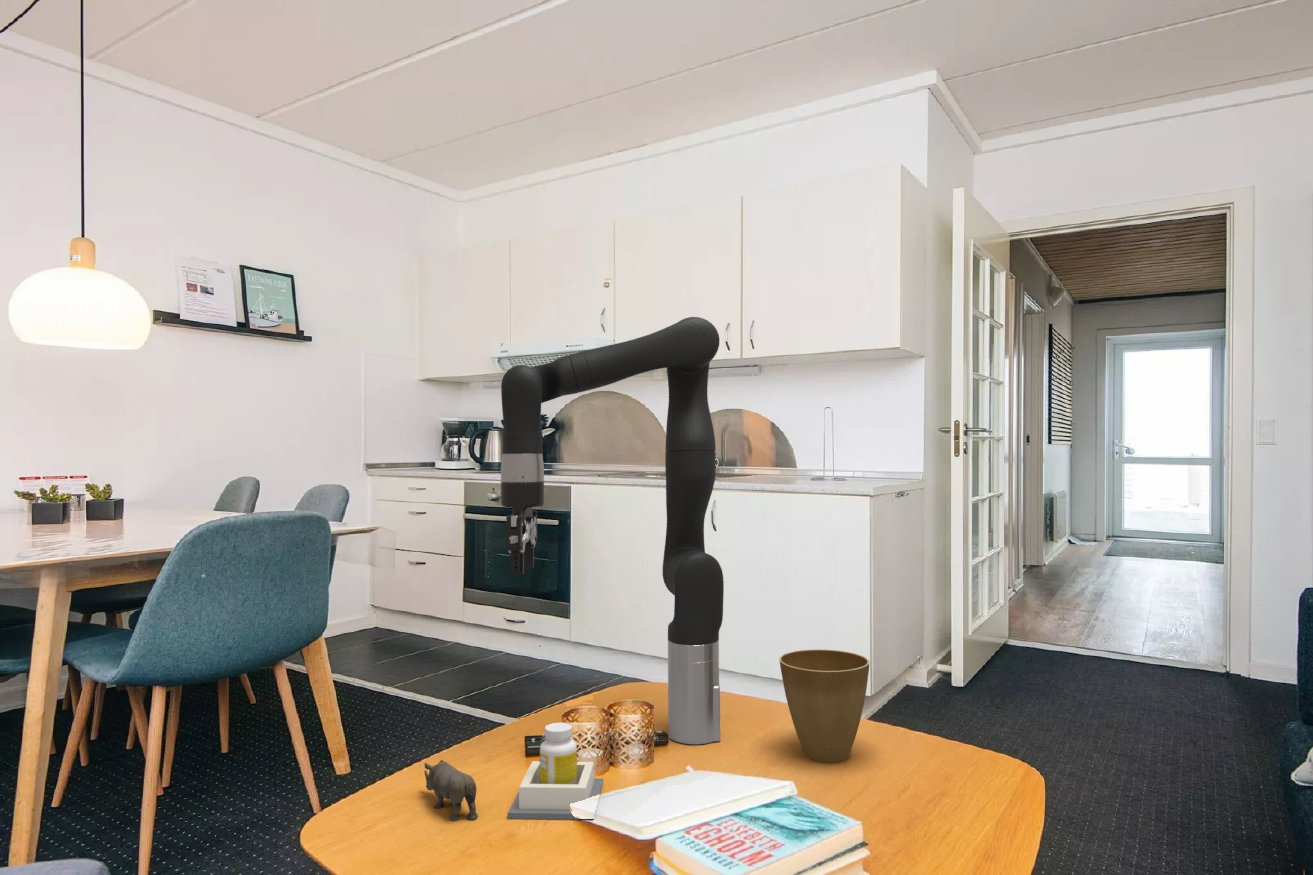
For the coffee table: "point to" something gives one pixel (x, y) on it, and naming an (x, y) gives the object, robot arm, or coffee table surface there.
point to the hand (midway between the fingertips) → (522, 571)
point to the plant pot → (825, 699)
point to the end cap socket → (553, 794)
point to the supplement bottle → (558, 755)
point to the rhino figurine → (451, 788)
